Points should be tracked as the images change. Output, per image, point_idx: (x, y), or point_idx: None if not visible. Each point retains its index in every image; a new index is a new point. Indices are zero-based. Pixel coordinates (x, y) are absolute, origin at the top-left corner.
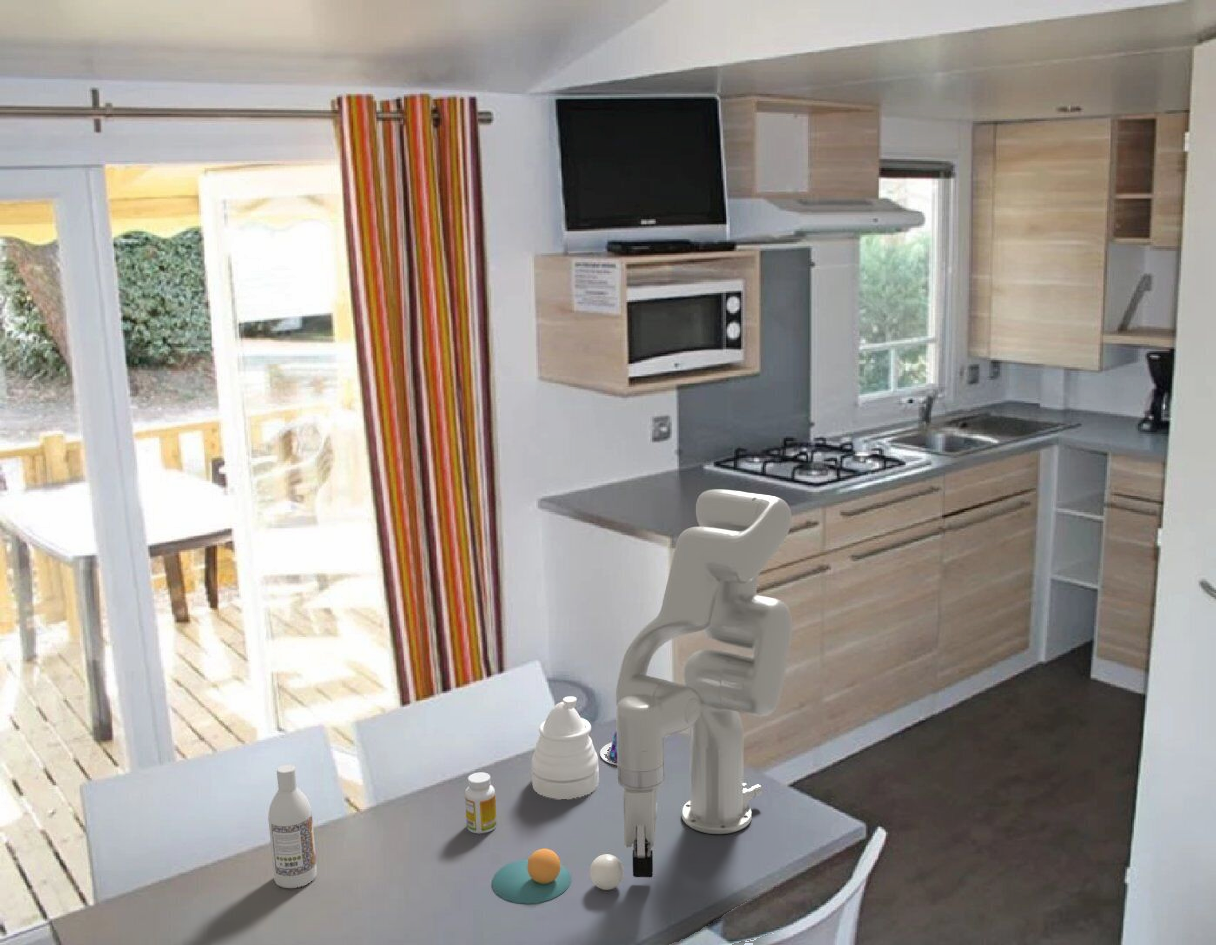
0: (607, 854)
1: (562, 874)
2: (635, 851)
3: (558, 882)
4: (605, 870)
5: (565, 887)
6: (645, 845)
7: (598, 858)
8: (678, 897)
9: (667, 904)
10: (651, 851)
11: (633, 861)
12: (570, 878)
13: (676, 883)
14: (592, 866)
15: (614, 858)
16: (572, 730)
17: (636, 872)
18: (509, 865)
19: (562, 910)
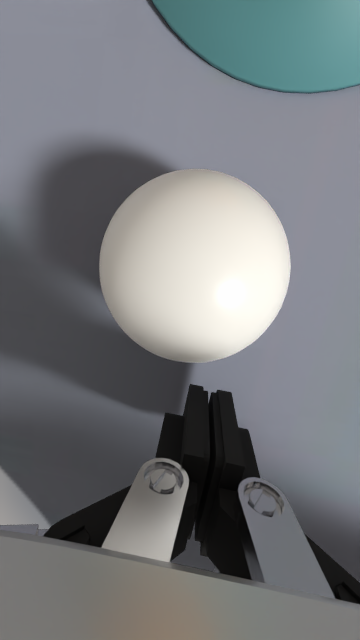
0: (234, 297)
1: (343, 41)
2: (65, 525)
3: (271, 11)
4: (106, 260)
5: (217, 53)
6: (224, 563)
7: (200, 221)
8: (100, 483)
9: (65, 447)
10: (202, 552)
11: (186, 429)
12: (292, 87)
13: None
14: (179, 177)
15: (181, 337)
16: None
17: (186, 405)
18: None
19: (41, 31)
